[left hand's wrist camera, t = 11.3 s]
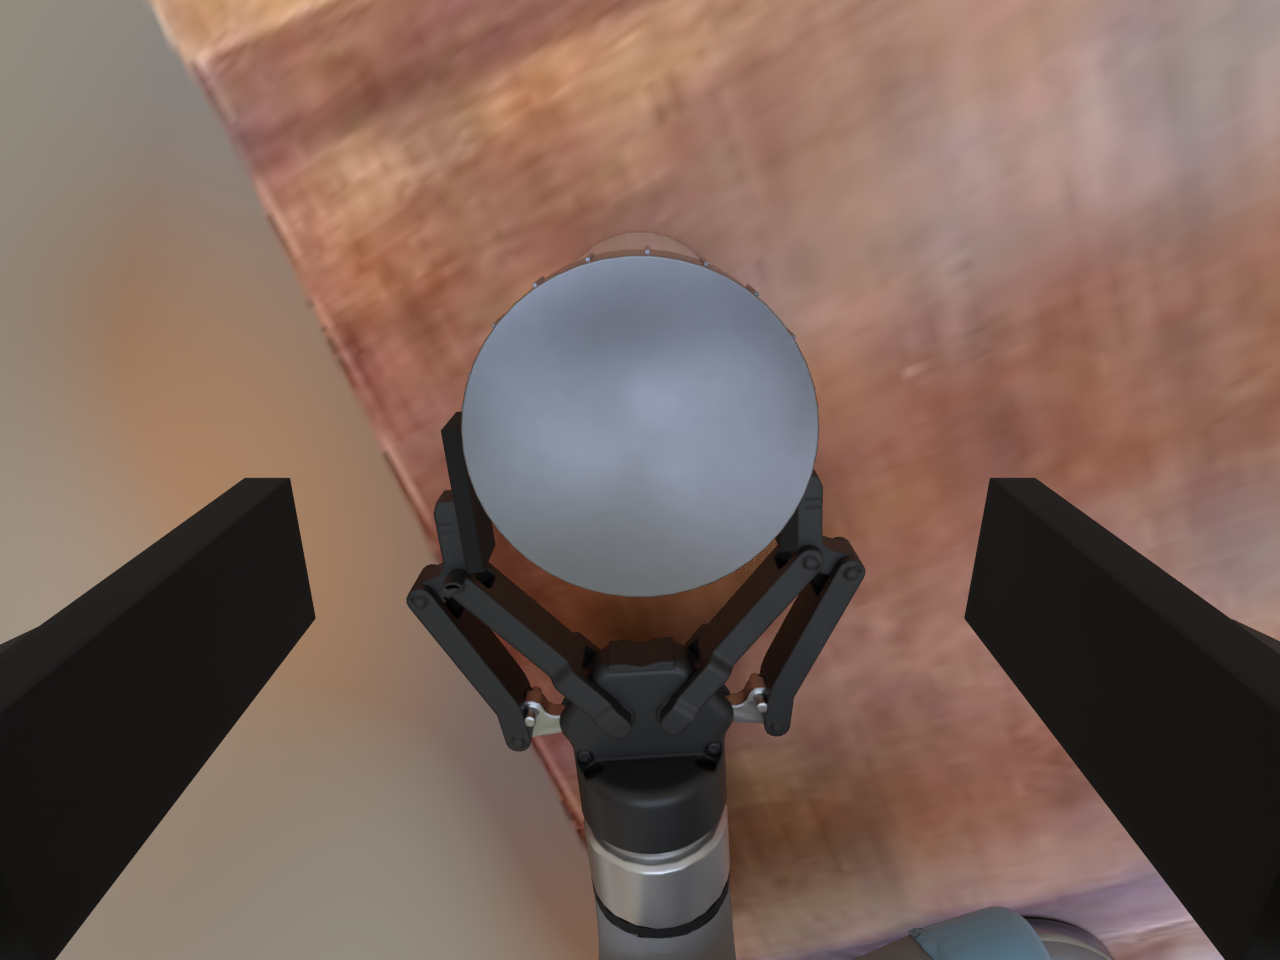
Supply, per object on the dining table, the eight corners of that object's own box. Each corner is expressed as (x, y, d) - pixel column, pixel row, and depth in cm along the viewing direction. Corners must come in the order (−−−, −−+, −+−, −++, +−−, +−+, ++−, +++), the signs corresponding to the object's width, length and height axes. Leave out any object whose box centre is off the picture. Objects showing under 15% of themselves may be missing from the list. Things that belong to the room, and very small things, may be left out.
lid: (498, 214, 19) (482, 217, 17) (844, 286, 19) (867, 296, 17) (459, 533, 22) (441, 567, 20) (757, 585, 22) (768, 624, 20)
